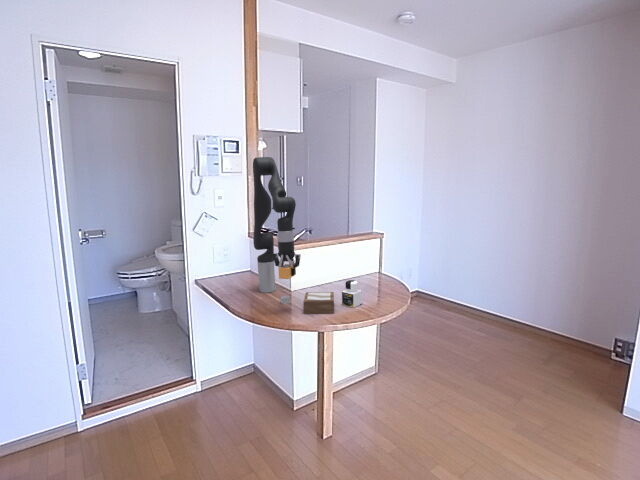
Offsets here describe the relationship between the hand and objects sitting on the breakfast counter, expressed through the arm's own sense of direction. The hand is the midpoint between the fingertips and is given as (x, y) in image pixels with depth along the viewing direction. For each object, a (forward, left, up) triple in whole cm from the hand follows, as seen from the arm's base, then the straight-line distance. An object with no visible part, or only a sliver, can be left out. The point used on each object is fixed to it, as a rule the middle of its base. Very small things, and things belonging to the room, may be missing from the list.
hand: (287, 275), depth 178 cm
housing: (0, 0, -1) cm, 1 cm away
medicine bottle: (-7, +30, -18) cm, 36 cm away
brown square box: (-2, +14, -18) cm, 23 cm away
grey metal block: (-12, -4, -18) cm, 22 cm away
